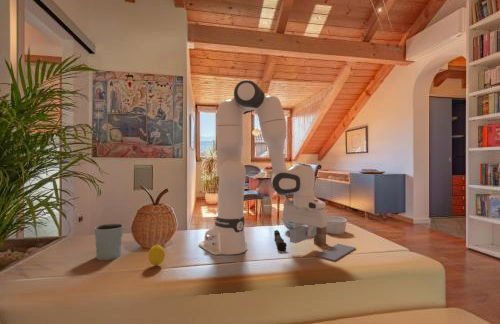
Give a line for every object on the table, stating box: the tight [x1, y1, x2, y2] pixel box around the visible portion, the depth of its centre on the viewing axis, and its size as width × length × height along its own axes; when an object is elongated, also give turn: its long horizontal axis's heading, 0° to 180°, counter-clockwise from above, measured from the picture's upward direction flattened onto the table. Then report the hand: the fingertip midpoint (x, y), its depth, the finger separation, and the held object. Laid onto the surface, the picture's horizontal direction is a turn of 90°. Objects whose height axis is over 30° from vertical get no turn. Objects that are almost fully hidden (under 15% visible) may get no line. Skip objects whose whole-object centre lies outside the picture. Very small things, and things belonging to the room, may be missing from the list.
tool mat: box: [315, 243, 357, 262], centre depth 115 cm, size 8×20×1 cm, turn 137°
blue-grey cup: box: [94, 223, 124, 261], centre depth 109 cm, size 10×10×12 cm
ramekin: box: [326, 215, 348, 235], centre depth 147 cm, size 13×13×7 cm
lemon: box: [148, 243, 166, 267], centre depth 100 cm, size 6×6×8 cm
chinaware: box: [281, 216, 304, 232], centre depth 147 cm, size 15×15×8 cm
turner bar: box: [289, 225, 316, 244], centre depth 116 cm, size 3×16×5 cm, turn 137°
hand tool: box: [273, 229, 288, 252], centre depth 126 cm, size 19×4×5 cm, turn 0°
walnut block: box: [313, 227, 327, 246], centre depth 126 cm, size 4×4×10 cm
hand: (303, 234), depth 116 cm, fingers closed on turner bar, 3 cm apart
